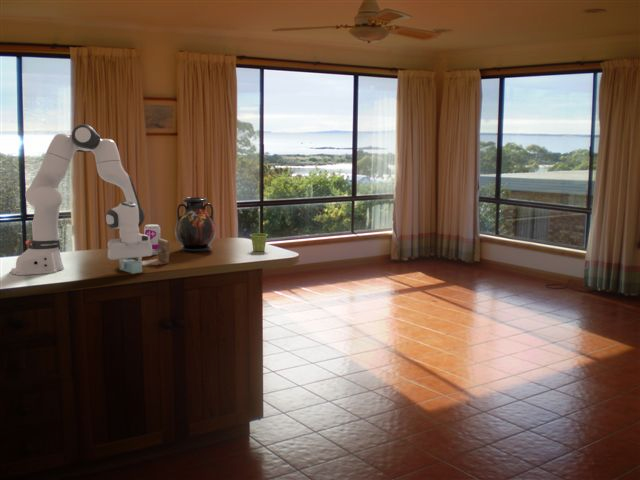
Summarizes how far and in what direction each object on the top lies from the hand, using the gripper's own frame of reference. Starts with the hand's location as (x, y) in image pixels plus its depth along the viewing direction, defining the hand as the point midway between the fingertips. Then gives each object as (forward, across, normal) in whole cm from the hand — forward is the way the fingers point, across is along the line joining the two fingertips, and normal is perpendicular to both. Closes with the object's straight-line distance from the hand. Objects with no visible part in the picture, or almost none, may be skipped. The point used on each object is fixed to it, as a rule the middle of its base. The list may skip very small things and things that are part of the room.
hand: (130, 267), depth 318 cm
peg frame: (+2, +13, +11) cm, 17 cm away
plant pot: (+2, +76, +13) cm, 77 cm away
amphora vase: (+2, +48, +32) cm, 58 cm away
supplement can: (+2, +25, +35) cm, 43 cm away
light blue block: (+2, 0, 0) cm, 2 cm away
